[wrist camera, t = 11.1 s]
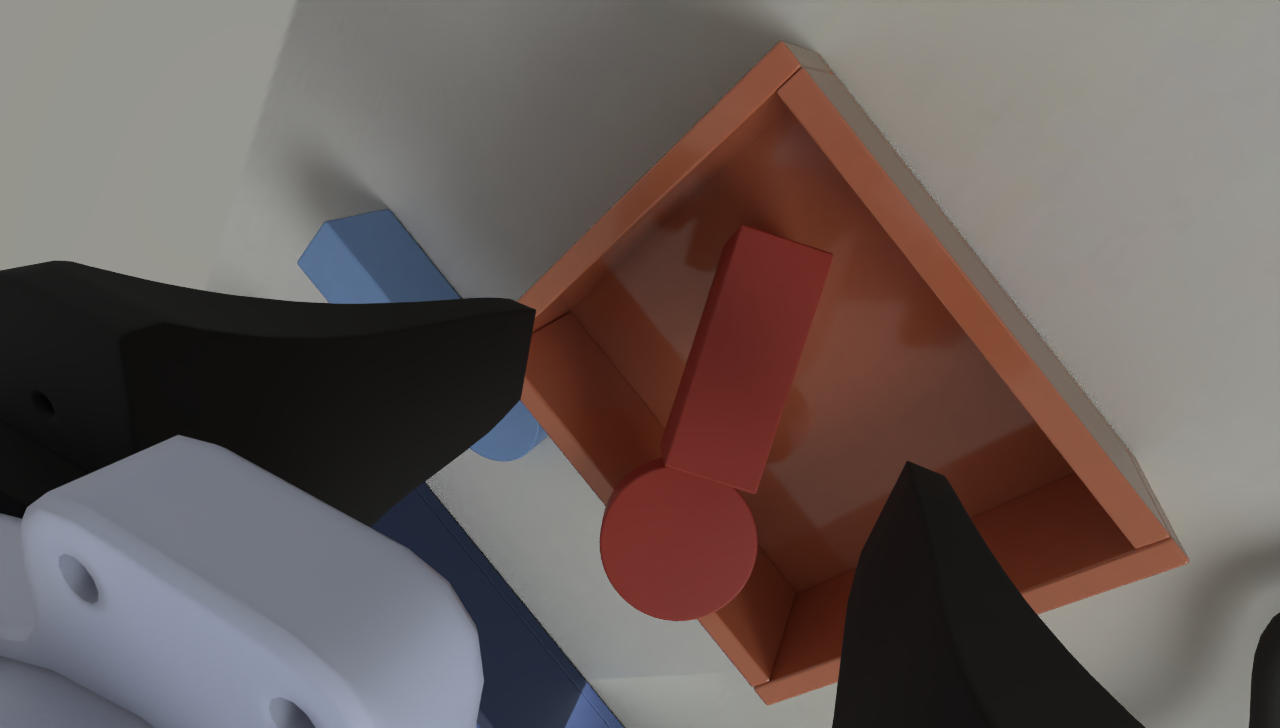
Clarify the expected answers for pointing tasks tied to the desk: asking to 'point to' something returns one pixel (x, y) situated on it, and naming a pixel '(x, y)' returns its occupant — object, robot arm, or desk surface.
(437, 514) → the navy bin
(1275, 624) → the cable
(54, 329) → the robot arm
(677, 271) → the terracotta bin
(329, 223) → the blue disc on block
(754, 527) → the red post on disc
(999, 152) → the desk surface
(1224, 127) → the desk surface
